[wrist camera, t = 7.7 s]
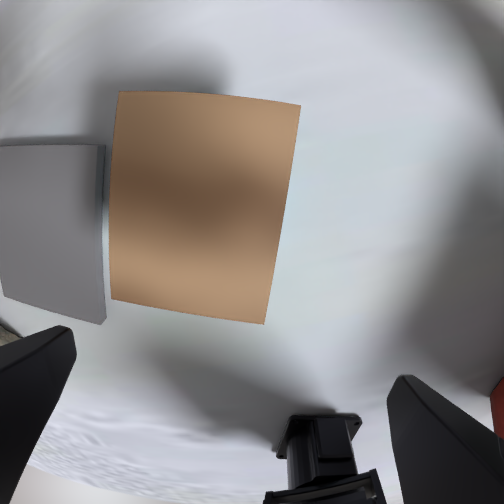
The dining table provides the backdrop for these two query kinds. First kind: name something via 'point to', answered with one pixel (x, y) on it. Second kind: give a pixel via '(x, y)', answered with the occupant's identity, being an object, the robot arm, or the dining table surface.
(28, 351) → the robot arm
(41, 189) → the mat
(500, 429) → the plant pot
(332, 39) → the dining table surface
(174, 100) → the lid
